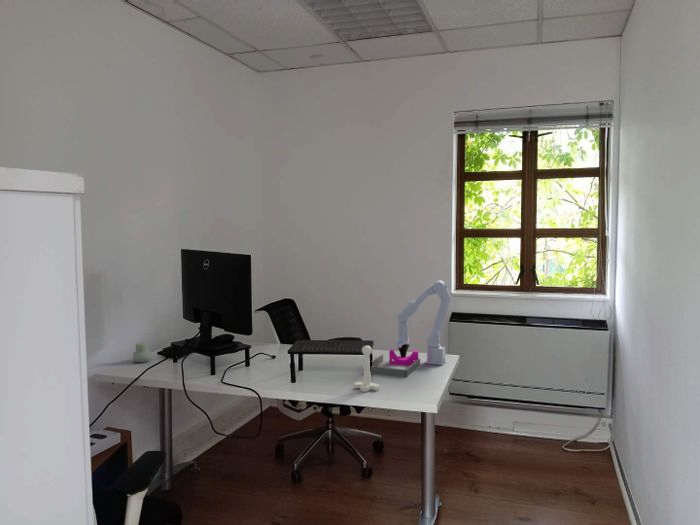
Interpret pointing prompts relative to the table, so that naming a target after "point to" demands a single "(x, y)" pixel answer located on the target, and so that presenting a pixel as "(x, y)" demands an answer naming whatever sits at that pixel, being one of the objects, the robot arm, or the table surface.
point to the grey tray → (391, 370)
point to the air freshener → (141, 353)
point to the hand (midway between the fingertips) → (403, 357)
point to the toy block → (402, 358)
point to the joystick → (366, 373)
